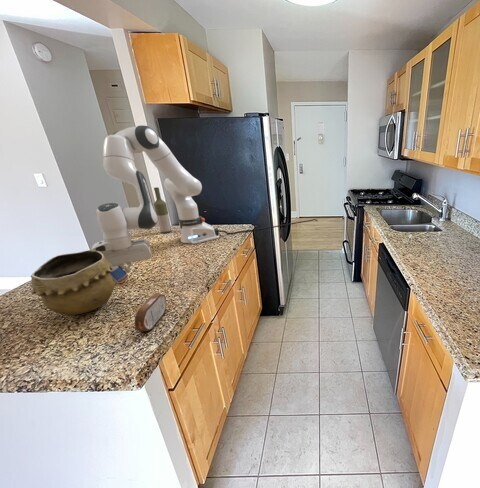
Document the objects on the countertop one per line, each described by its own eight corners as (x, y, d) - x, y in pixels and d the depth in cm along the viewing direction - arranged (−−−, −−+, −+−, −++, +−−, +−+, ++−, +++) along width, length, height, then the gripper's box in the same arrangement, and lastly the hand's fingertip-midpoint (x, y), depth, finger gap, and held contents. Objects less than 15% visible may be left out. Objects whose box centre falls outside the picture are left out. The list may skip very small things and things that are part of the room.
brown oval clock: (161, 308, 95) (156, 289, 92) (170, 308, 96) (165, 288, 93) (137, 337, 82) (130, 315, 78) (148, 336, 82) (141, 314, 79)
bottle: (168, 233, 174) (158, 188, 163) (158, 233, 174) (147, 188, 163) (174, 230, 180) (164, 186, 169) (164, 230, 180) (154, 186, 169)
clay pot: (108, 321, 89) (89, 269, 81) (30, 333, 83) (2, 279, 76) (132, 290, 107) (117, 245, 100) (69, 298, 102) (49, 251, 94)
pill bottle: (131, 274, 116) (116, 257, 110) (124, 282, 112) (108, 265, 106) (120, 276, 116) (105, 260, 111) (113, 285, 112) (96, 268, 107)
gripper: (147, 235, 117) (155, 263, 122) (88, 245, 106) (99, 275, 111) (148, 239, 112) (155, 268, 117) (86, 250, 101) (97, 281, 106)
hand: (127, 271), depth 114 cm, fingers closed
